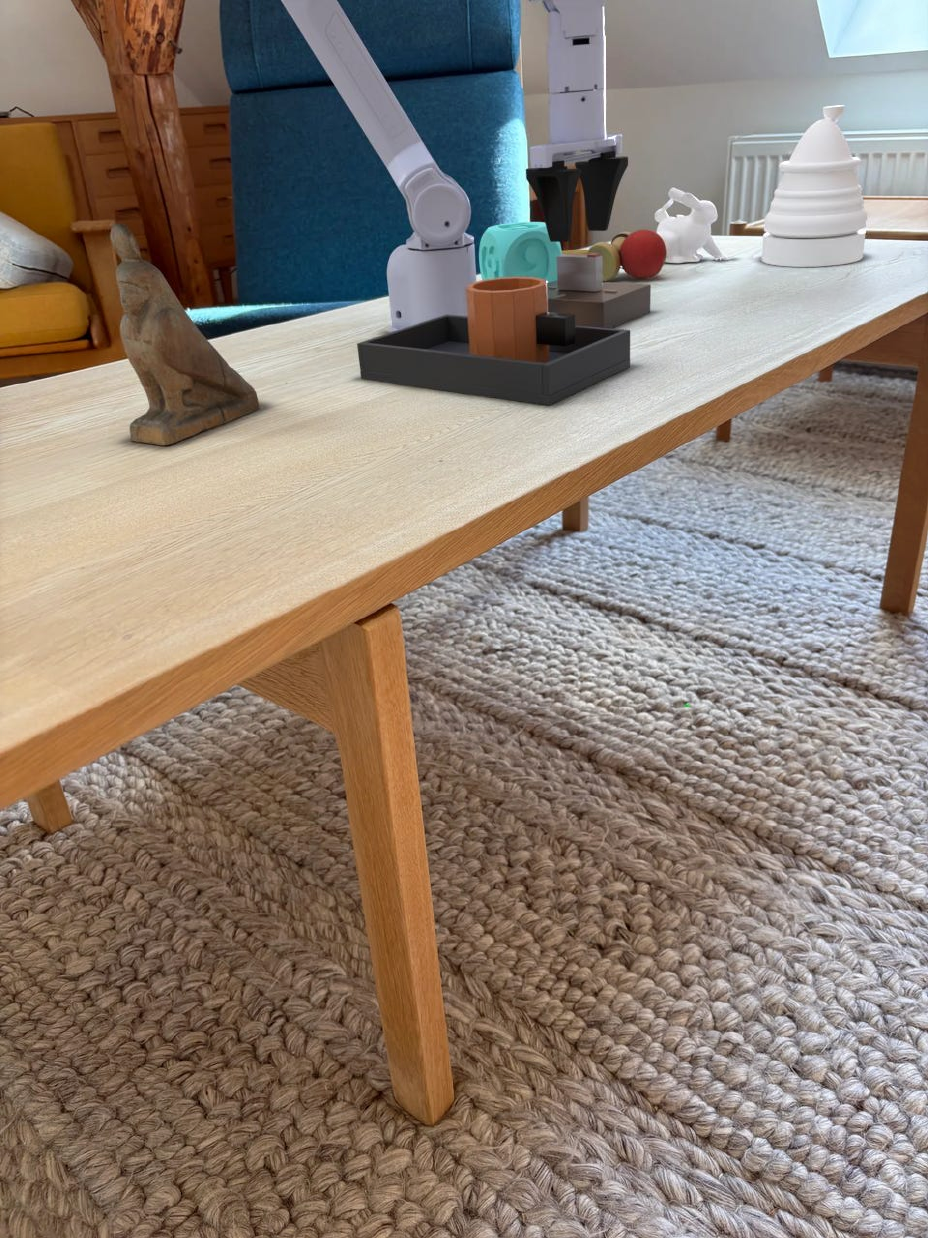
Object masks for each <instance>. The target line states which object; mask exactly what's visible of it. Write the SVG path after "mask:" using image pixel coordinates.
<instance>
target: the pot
mask: <svg viewBox="0 0 928 1238" xmlns="http://www.w3.org/2000/svg"><path fill="white" fill-rule="evenodd" d="M476 281H477V282H474V283H471V284H468V286H467V287H466V301H467V316H468V331H469V347H470V354H471V355H480V356H489V357H498V358H507V359H516V360H525V361H533V362H542V363H548V362H549V345H553V346H563V347H566V346H568V345H571V344H573V343H575V314H563V313H551V312H548V286H547V280H544V279H541V278H537V277H502V278H494V279H487V280H482V279H481V280H476Z"/></svg>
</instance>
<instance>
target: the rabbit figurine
mask: <svg viewBox="0 0 928 1238" xmlns="http://www.w3.org/2000/svg"><path fill="white" fill-rule="evenodd" d="M667 195H668V198H669V200H668V201H667V202H666V203H665V204H663V205H662V207H661V208H659V209H657V210H656V211H655V213H654V220H655V222H657V223H658V226H657V227H656V231H655V232H656V233H657V234H659V235H660V236H661V237H662V239H663V240H664V242H665V245H666V252H667V254H666V260H665V263H670V264H683V263H698V262H700V260H704V258H705V256H704V254H703V253H702V252H698V250H700V249H703V250H704V251H705V252H706V253H707V254H709V255H710V256H711V257H713V258H714V259H715V261H729V260H731V259H733V257H732V256H730V255H728V256H726V255H724V254H723V252H722V250H721V249H720V247H719V246H718V244H717V242H716V241H715V239H714V238H713V236H712V227H711V225H712V224H713V223H715V222H716V221H717V220H718V211H717V208H716V206H715V204H714V203H713V202H711V201H710V200H705V199H702V200H699V199H698V198H697V197H696V196H694V194H693V193H691V192H685V191H683V190H681V189H678V188H676V187H671V188H670V189H669V191H668V193H667ZM674 201H675V202H678V203H681V204H682V205H684V206H686V207H688V208H689V209H691V211H690V213H689V214H687V215H683V214H676V217H675V216H669V214H668V212H667V210H668V209H669V208H670V207H671V206H672V205H673V203H674Z"/></svg>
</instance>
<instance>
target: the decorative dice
mask: <svg viewBox="0 0 928 1238" xmlns="http://www.w3.org/2000/svg"><path fill="white" fill-rule="evenodd" d="M562 251H563V250H562V246H561V242H550V239H549V235H548V231H547V228H546V224H545V221H544V222H543V221H521V222H509V223H501V224H496V225H491V226H489V227H488V228H487V229H486V230H485V231H484V233H483V234H482V235H481V239H480V242H479V248H478V263H479V264H478V265H479V271H480V277H481V280H487V279H494V278H502V277H537V278H541V279H544V280H547V283H550V282H553V281H556V280H557V256H560V255H562Z"/></svg>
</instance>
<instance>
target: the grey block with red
mask: <svg viewBox="0 0 928 1238" xmlns="http://www.w3.org/2000/svg"><path fill="white" fill-rule="evenodd" d="M603 282H604V281H603V256H600V253H591V254H588V255H569V254H563V255H560V256H557V289H558V290H574V291H590V292H597V291H600V290H602V289H603Z"/></svg>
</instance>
